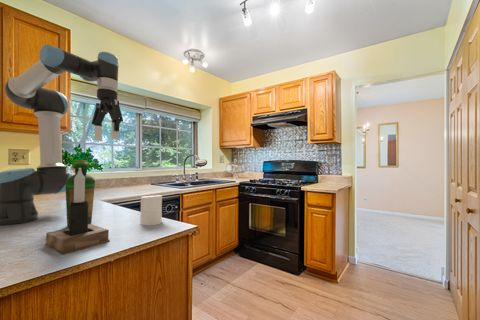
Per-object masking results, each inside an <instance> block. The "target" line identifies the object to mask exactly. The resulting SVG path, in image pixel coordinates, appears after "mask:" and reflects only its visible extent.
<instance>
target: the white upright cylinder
mask: <svg viewBox="0 0 480 320" xmlns="http://www.w3.org/2000/svg"><path fill="white" fill-rule="evenodd" d="M162 203H163V195H161V194H158V195H145V196H141V197H140V220H139V221H140V223H139V224H140V225H142V226H156V225H159V224H161V223H162V218H163V217H162V216H163V215H162V214H163V212H162V211H163V208H162V206H163V204H162Z"/></svg>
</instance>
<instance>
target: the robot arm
mask: <svg viewBox="0 0 480 320" xmlns="http://www.w3.org/2000/svg"><path fill="white" fill-rule="evenodd" d="M38 58H39V60H38V61H36V62H35V63H34V64H33V65H31V66H30V67H29V68H27V70H25V71H24V72H23V73H21V74H19V76H14V77H11V78H10V79H8V80H7V81H6V83H5V85H4V94H5V95H6V97H7V98H8V99H9V101H10V102H12V104H15V105H16V106H18V107H20V108H24V109H28V110H33V115H34V116H35V117H37V121H38V122H37V123H38V140H39V141H38V142H39V159H40V160H39V162H40V164H39V165H38V166H36V170H35V168H32V167H30V168H28V167H25V168H15V169H14V168H13V169H9V170H8V169H7V170H3V171H1V172H0V226H7V225H14V224H15V225H18V224H22V223H28V222H31V221H32V222H33V221H35V220H37V219H38V218H39V213H38V212H39V211H38V210H37V207H36V205H35V202H34V198H35V197H34V196H40V195H41V196H42V195H52V194H54V195H56V194H61V193H66V186H65V182H66V181H67V179H68V178H69V177H71V176H73V174H72V172H71V171H70V170H69V169H67V165H65V164H64V163H63V151H62V134H61V130H62V129H61V119H62V118H64V115H65V114H67V112H68V109H69V101H68V99H67V97H66V96H65V95H64V94H63V93H62V92H59V91H57V90H54V89H47V88H44V87H45V86H46V85H47V84H48V83H50V82H51V81H52V80H54V79H55V78H57V77H59V76H60V75H62V74H63V73H65V72H66V73H70V74H71V75H72V74H73V75H76V76H78V77H80V78H81V79H82V80H83V81H85V82H89V83H90V82H97V86H96V87H97V90H96V99H98V100H99V101H100V103H99V102H96V103H95V110H94V113H93V117H92V120H91V125H93V127H94V139H93V140H94V141H96V142H97V141H98V142H101V141H103V139H102V138H103V125H102V123H103V122H104V120H105V117H106V115H108V114H109V116H110V119H111V134H110V135H111V140H115V141H116V140H120V125H121V122H122V123H123V122H124V119H123V114H122V111H121V107H120V101H119V100H118V91H119V89H118V88H119V87H118V85H119V83H118V81H119V78H118V77H119V67H120V66H119V59H118V56H116V55H115V53H114V54H113V53H111V52H107V51H100V52H98V54H97V57H96V58H97V60H93V61H90V60H89V59H86V58H84V57H81V56H78V55H76V54H73V53H71V52H69V51H66V50H64V49H61V48H59V47H57V46H53V45H50V44H44V45H42V46H41V48H40V50H39V56H38Z"/></svg>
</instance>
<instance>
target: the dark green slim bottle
mask: <svg viewBox="0 0 480 320" xmlns="http://www.w3.org/2000/svg"><path fill="white" fill-rule="evenodd" d="M84 197H85V177H84V176H83V174H82V171H81V168H79V171H78V173H77V175H76V176H75V178H74V201H73V202H71V204H70V206H69V226H68V228H69V235H70V236H73V235H78V234H82V233H86V232H88V202H87V201H84Z"/></svg>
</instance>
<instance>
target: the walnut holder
mask: <svg viewBox="0 0 480 320" xmlns="http://www.w3.org/2000/svg"><path fill="white" fill-rule="evenodd" d="M45 239H46V240H45V241H46V243H44V246H45V247H48V248H49V249H51V250H53V251H55V252H56V253H59V254H61V255H67V254H71V253H73V252H77V251H81V250H84V249H87V248H91V247H94V246H99V245H103V244H105V243H108V242H110V239H109V229H108V228H104V227H101V226H99V225H95V224H92V223H91V224H88V232H86V233H82V234H78V235H73V236H70V235H69V227H68V228H62V229H58V230H54V231H48V232H46V238H45Z"/></svg>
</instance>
